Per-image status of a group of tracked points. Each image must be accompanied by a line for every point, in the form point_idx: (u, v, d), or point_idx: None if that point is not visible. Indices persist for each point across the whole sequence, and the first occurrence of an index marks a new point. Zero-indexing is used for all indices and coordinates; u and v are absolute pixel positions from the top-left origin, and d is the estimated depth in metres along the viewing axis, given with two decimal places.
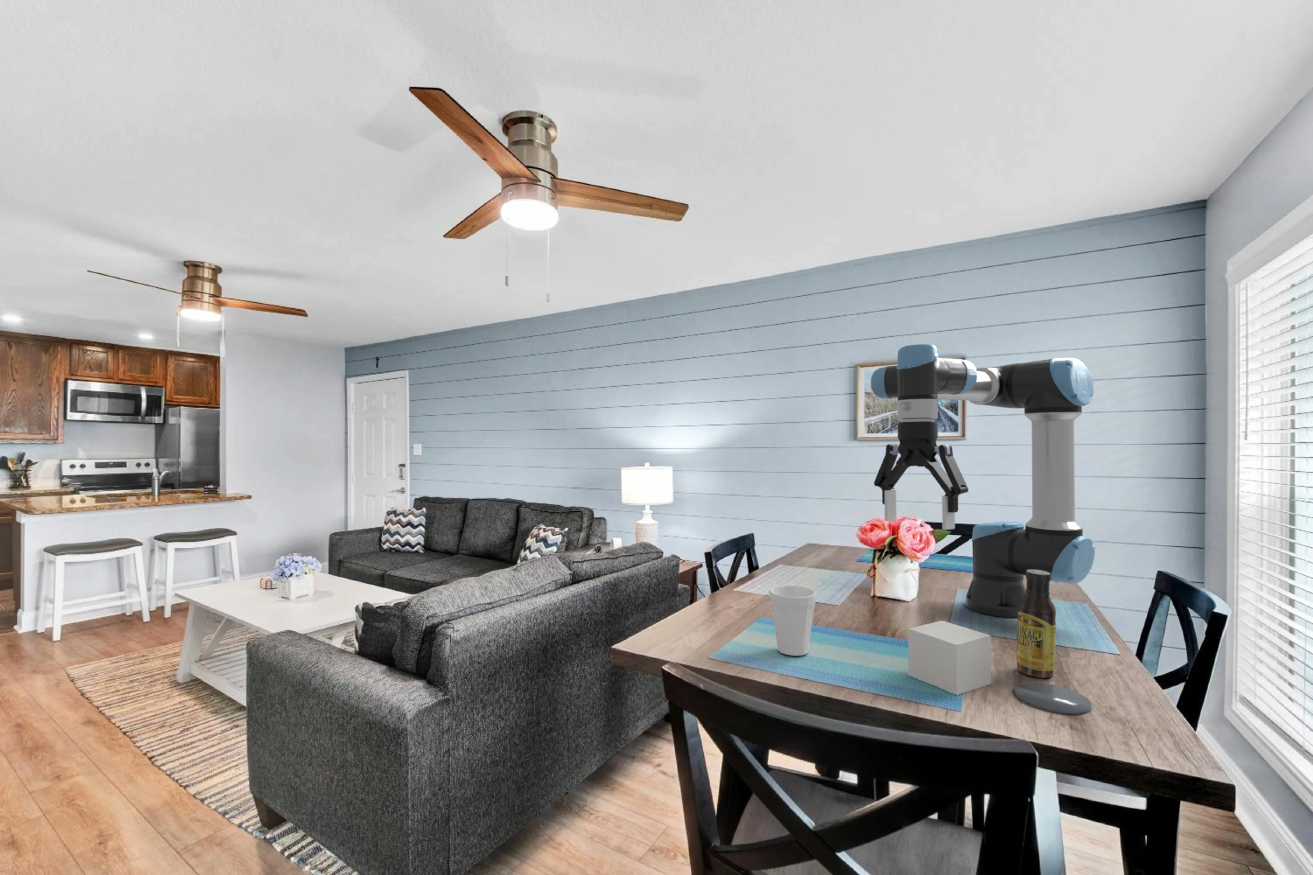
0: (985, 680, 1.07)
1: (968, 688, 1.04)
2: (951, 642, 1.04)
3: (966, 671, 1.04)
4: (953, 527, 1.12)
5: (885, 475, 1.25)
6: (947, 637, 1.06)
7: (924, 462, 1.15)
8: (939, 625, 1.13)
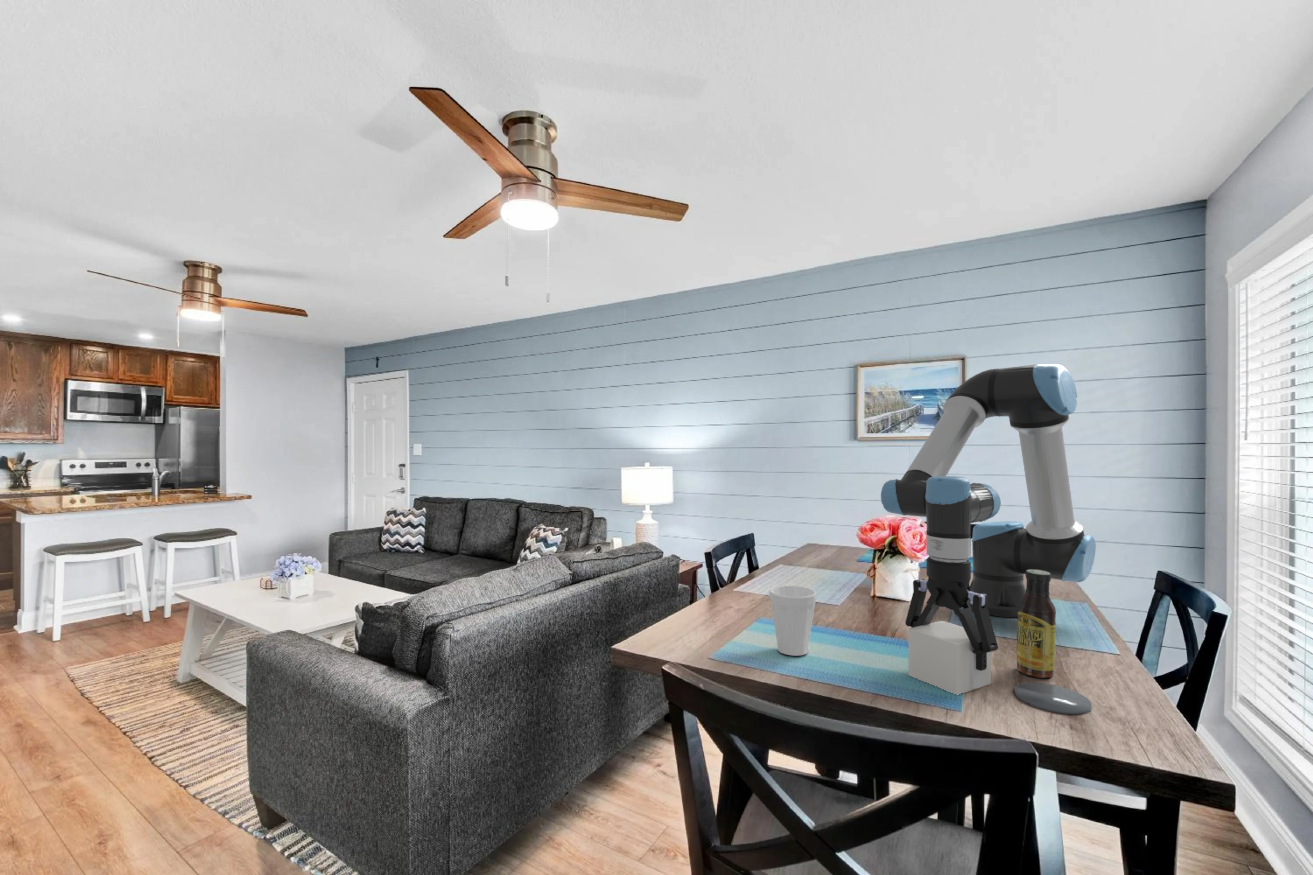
0: (985, 680, 1.07)
1: (968, 688, 1.04)
2: (951, 642, 1.04)
3: (966, 671, 1.04)
4: (981, 684, 1.05)
5: (916, 614, 1.15)
6: (947, 637, 1.06)
7: (955, 607, 1.06)
8: (939, 625, 1.13)
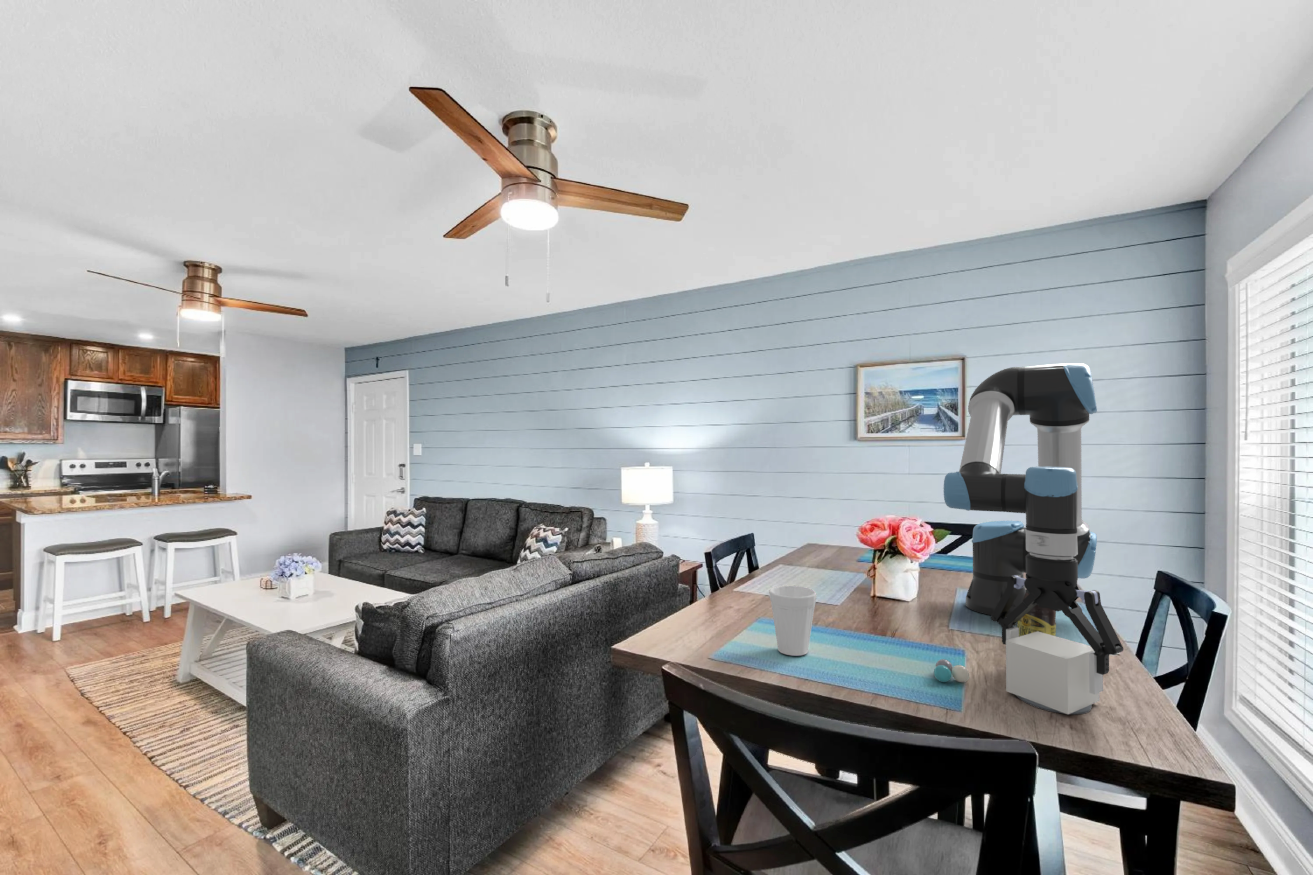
0: (1094, 697, 0.98)
1: (1078, 706, 0.96)
2: (1060, 656, 0.95)
3: (1076, 688, 0.95)
4: (1101, 689, 0.95)
5: (1005, 610, 1.08)
6: (1053, 650, 0.98)
7: (1064, 608, 0.98)
8: (1037, 636, 1.05)
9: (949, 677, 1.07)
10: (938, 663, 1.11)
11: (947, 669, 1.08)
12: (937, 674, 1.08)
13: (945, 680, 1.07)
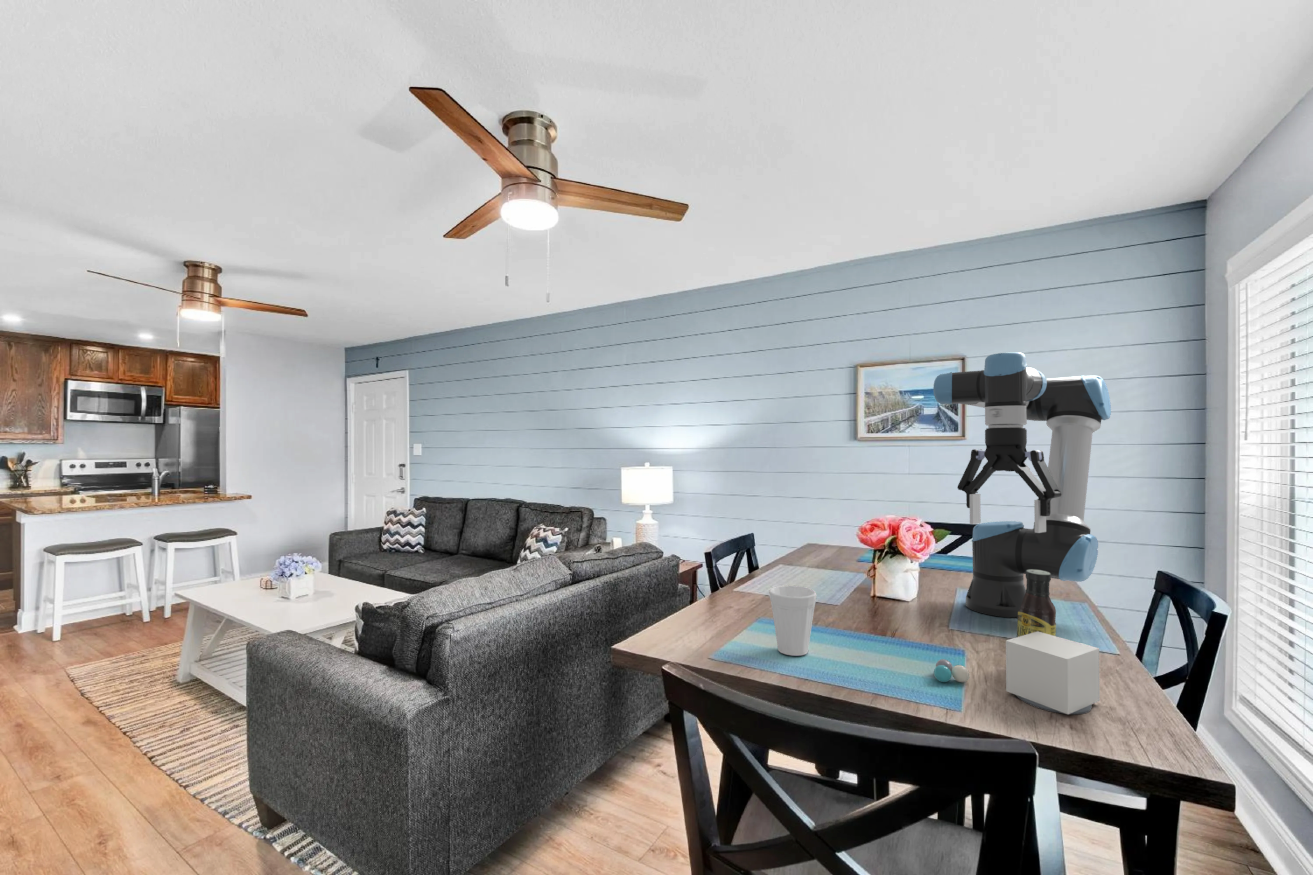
0: (1094, 697, 0.98)
1: (1078, 706, 0.96)
2: (1060, 656, 0.95)
3: (1076, 688, 0.95)
4: (1045, 530, 1.16)
5: (969, 479, 1.29)
6: (1053, 650, 0.98)
7: (1014, 467, 1.18)
8: (1037, 636, 1.05)
9: (949, 677, 1.07)
10: (938, 663, 1.11)
11: (947, 669, 1.08)
12: (937, 674, 1.08)
13: (945, 680, 1.07)
